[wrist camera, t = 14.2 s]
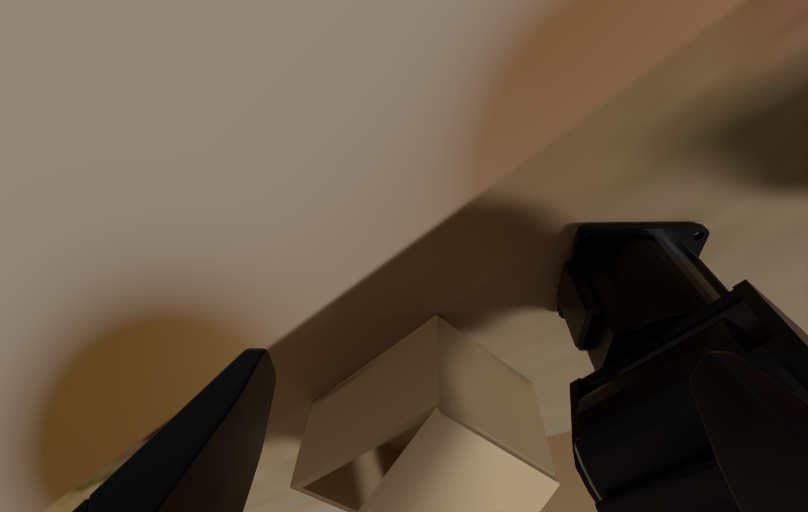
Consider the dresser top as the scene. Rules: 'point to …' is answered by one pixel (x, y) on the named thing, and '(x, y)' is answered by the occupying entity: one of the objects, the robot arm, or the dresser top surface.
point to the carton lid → (459, 474)
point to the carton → (413, 412)
